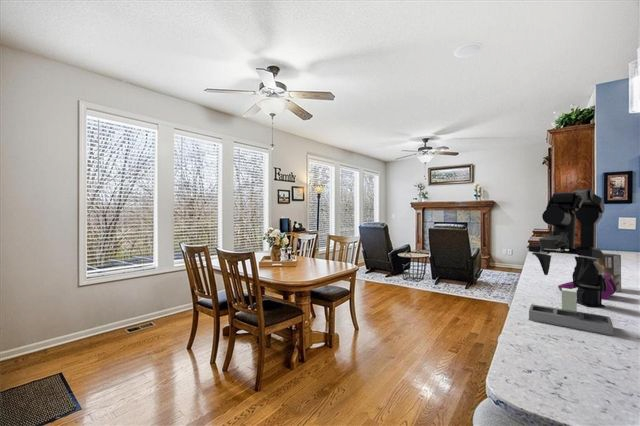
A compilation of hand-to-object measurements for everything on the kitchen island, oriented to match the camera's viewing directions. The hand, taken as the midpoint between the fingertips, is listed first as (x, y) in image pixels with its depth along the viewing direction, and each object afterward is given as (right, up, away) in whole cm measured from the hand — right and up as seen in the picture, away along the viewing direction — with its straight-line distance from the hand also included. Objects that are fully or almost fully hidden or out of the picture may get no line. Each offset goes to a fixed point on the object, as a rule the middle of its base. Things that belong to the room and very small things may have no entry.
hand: (560, 277), depth 96 cm
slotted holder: (+2, -15, 0) cm, 15 cm away
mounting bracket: (+36, -15, +32) cm, 51 cm away
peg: (+11, -15, +10) cm, 21 cm away
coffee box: (+52, -14, +39) cm, 66 cm away
